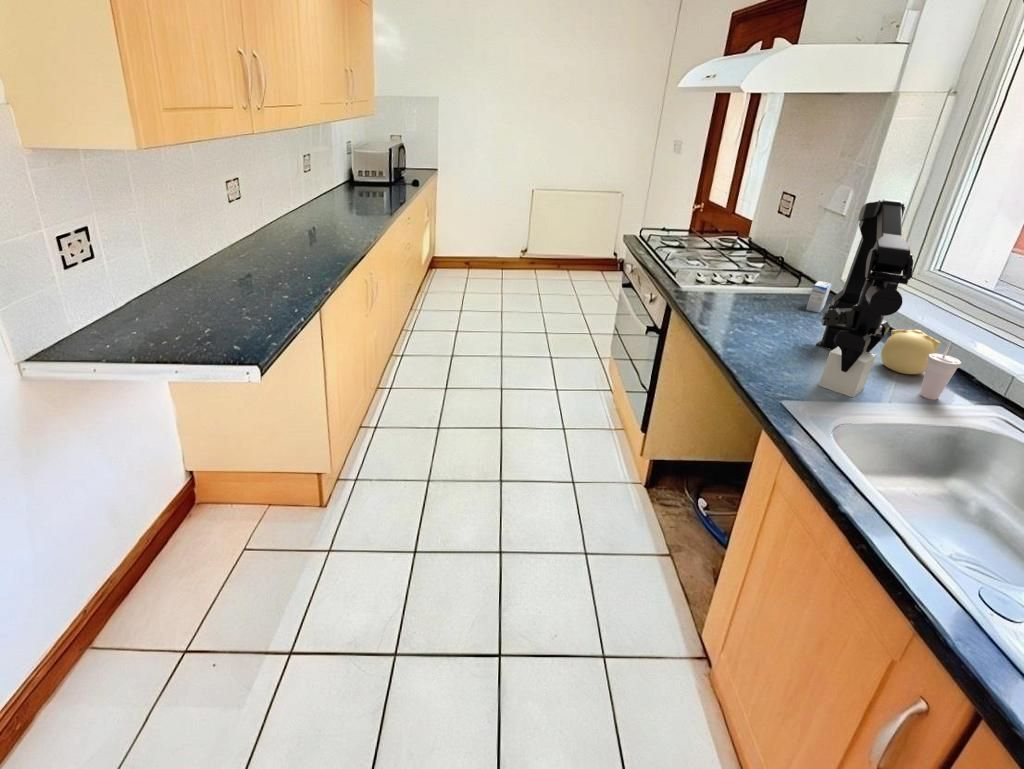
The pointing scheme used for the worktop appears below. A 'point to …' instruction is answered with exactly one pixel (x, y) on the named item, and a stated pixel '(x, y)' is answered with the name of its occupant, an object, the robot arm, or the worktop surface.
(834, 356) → the chalk-white cube
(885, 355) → the pale yellow rounded lump
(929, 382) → the smoothie
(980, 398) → the worktop surface
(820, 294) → the medicine box
